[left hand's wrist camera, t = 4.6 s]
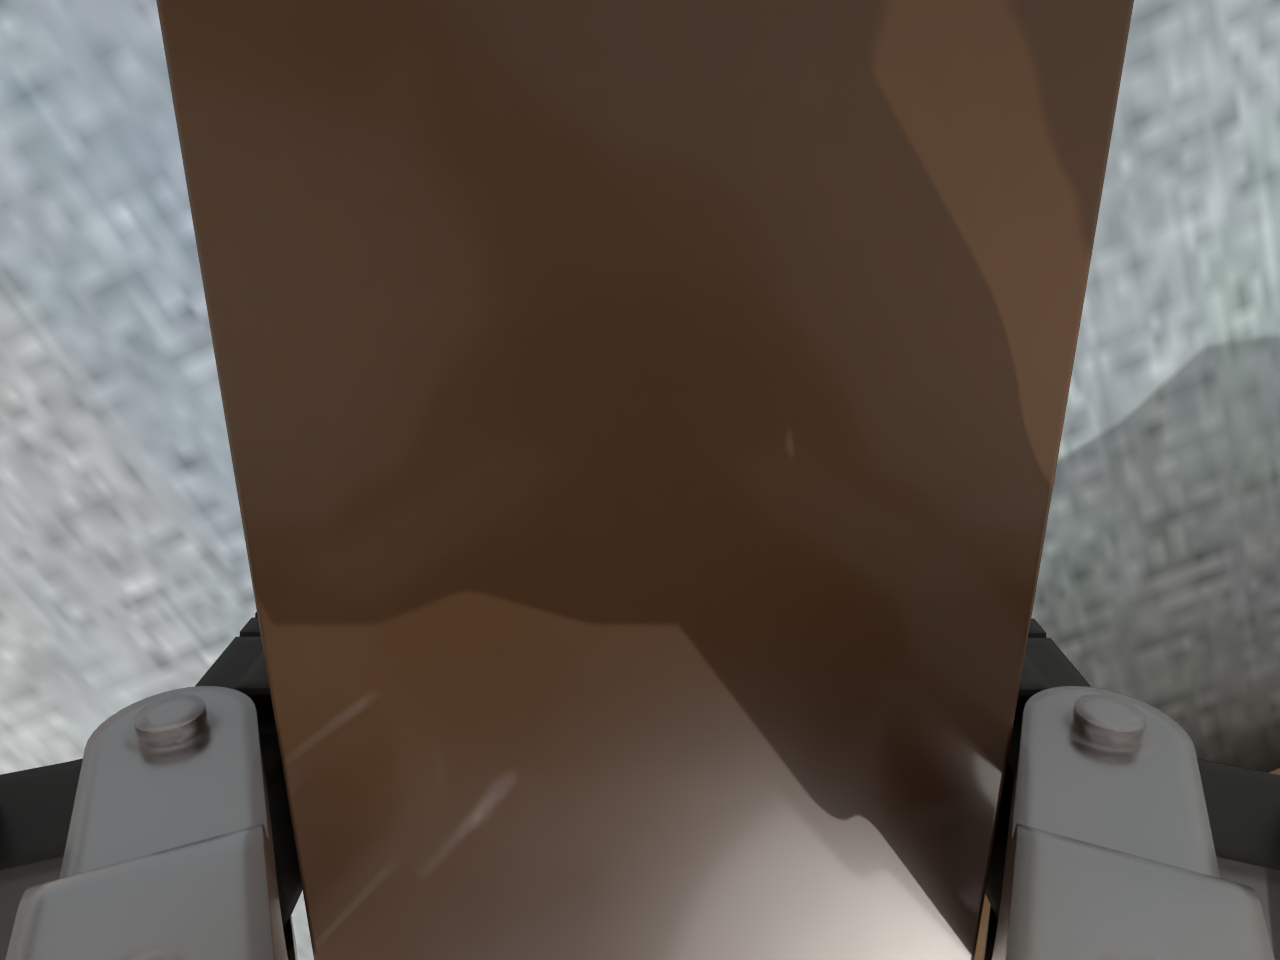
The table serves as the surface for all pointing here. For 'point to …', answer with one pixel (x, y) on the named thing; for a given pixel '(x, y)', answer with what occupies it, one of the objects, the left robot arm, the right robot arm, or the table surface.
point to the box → (644, 448)
